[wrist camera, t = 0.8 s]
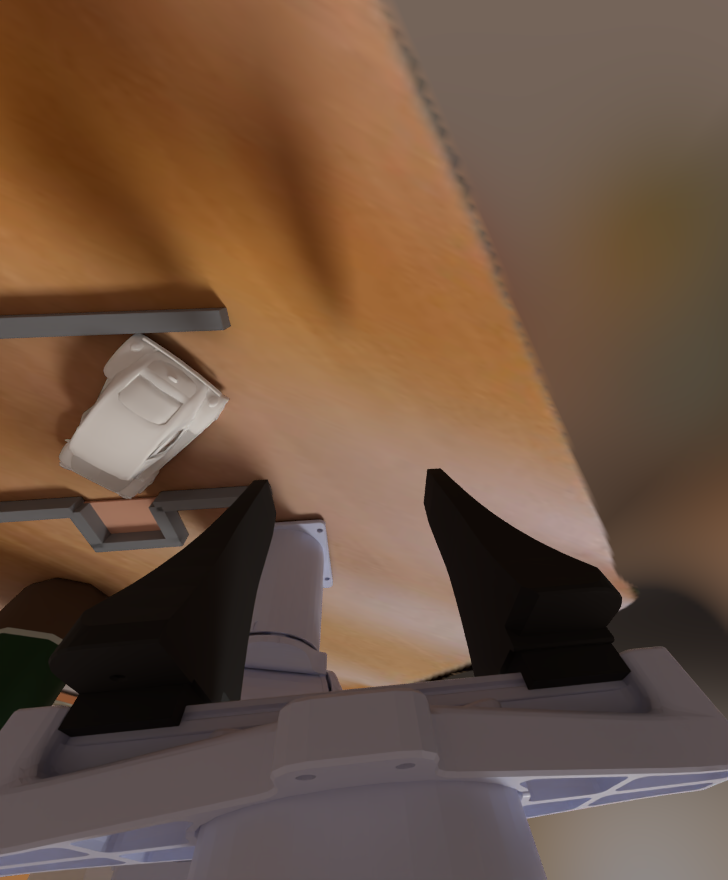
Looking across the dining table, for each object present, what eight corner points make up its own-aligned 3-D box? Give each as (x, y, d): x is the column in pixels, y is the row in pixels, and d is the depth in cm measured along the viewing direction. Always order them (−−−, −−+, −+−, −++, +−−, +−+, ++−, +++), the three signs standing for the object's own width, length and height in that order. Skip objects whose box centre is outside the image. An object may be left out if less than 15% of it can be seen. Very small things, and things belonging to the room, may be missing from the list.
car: (148, 321, 17) (88, 337, 13) (240, 392, 19) (214, 424, 15) (64, 446, 21) (-2, 489, 17) (151, 491, 23) (112, 538, 19)
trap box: (280, 528, 26) (274, 557, 23) (-54, 552, 24) (-101, 585, 22) (204, 220, 14) (174, 209, 12) (-429, 233, 13) (-617, 224, 10)
